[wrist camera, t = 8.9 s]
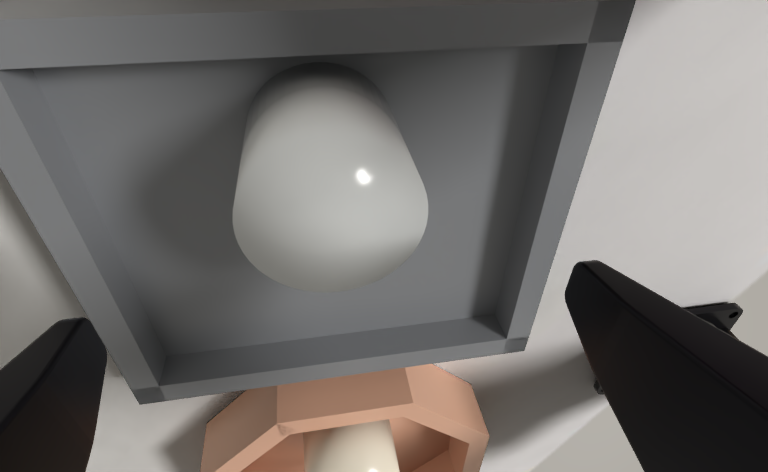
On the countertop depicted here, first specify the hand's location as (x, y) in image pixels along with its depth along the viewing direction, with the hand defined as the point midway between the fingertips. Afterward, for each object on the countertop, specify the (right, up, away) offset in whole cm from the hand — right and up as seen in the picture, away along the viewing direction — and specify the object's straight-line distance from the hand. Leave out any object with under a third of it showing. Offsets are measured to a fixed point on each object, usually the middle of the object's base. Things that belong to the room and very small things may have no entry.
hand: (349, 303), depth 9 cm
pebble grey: (-1, +4, +5) cm, 7 cm away
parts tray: (-1, +2, +8) cm, 8 cm away
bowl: (-1, -10, +17) cm, 20 cm away
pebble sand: (-1, -8, +15) cm, 17 cm away
